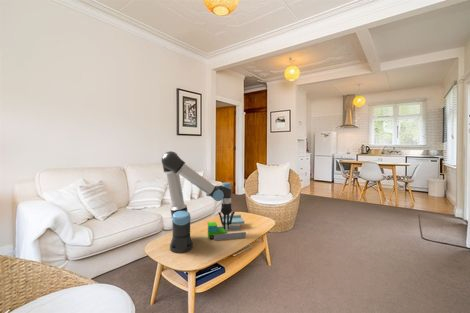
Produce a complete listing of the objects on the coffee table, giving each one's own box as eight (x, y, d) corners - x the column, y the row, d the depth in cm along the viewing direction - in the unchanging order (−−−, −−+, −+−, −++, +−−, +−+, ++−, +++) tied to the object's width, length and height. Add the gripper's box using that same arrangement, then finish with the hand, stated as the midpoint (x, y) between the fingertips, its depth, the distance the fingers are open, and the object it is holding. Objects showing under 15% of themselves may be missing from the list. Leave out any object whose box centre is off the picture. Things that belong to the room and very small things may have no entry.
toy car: (226, 239, 168) (226, 225, 167) (208, 240, 165) (208, 226, 165) (224, 233, 178) (224, 221, 177) (207, 234, 175) (207, 222, 175)
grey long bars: (214, 240, 165) (214, 234, 165) (211, 232, 181) (211, 227, 181) (245, 237, 170) (245, 232, 170) (240, 229, 186) (240, 224, 186)
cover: (244, 228, 187) (244, 219, 187) (222, 230, 183) (222, 220, 183) (240, 223, 200) (240, 214, 200) (219, 225, 196) (219, 215, 195)
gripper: (218, 204, 169) (218, 235, 170) (235, 203, 172) (235, 234, 173) (217, 202, 176) (217, 232, 177) (233, 201, 179) (233, 230, 180)
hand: (226, 233), depth 175 cm, fingers closed
